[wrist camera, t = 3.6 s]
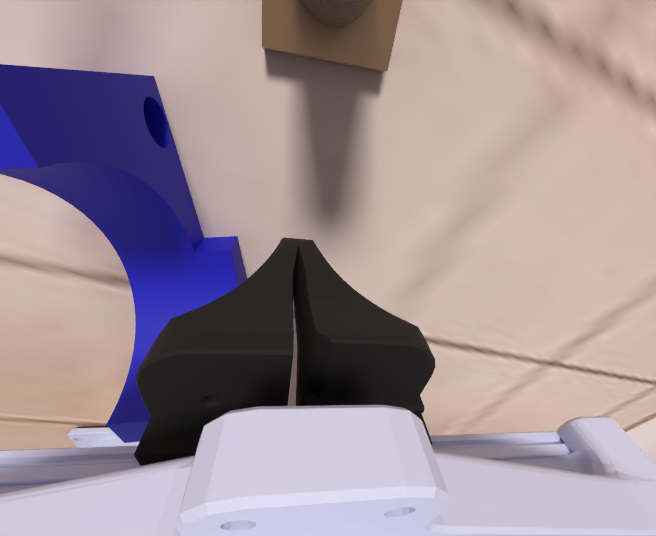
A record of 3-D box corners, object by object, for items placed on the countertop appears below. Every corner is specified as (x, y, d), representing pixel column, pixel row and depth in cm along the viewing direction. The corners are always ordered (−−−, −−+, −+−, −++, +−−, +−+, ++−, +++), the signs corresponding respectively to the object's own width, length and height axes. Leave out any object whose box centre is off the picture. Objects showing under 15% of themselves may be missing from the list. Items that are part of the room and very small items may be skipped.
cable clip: (258, 323, 16) (239, 431, 11) (180, 329, 15) (124, 443, 10) (202, 76, 9) (82, 62, 4) (61, 76, 9) (-261, 62, 4)
